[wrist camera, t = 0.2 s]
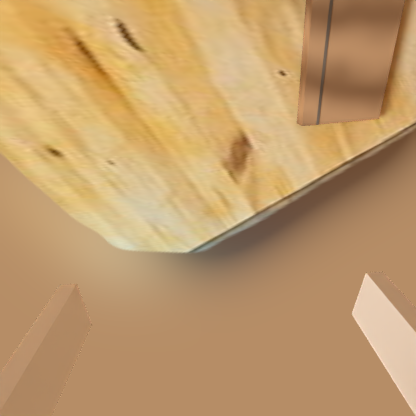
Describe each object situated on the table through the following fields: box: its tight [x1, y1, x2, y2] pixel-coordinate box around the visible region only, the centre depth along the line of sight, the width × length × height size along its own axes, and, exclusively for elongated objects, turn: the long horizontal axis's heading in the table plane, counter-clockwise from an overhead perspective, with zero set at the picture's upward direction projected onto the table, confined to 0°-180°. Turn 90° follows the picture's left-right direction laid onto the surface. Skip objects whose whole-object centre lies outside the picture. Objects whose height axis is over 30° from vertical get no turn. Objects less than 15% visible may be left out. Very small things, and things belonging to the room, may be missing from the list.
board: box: [297, 0, 405, 126], centre depth 28 cm, size 24×10×2 cm, turn 5°
